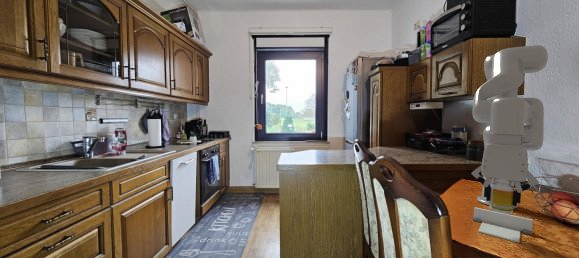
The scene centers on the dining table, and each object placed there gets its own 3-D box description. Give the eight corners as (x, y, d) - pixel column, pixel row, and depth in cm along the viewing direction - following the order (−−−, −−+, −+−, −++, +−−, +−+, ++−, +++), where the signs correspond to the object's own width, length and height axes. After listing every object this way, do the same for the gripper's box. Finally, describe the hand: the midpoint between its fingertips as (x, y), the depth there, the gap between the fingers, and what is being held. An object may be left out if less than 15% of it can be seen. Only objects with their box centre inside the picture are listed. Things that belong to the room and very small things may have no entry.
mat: (482, 223, 82) (482, 222, 82) (520, 232, 76) (520, 231, 76) (478, 232, 75) (478, 230, 75) (519, 242, 69) (519, 241, 69)
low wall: (474, 218, 86) (475, 206, 86) (531, 231, 76) (532, 218, 76) (472, 220, 84) (473, 208, 84) (531, 234, 74) (532, 221, 74)
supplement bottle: (517, 214, 72) (520, 180, 71) (495, 212, 73) (498, 178, 72) (505, 208, 77) (507, 176, 77) (485, 206, 78) (487, 174, 78)
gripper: (546, 142, 71) (541, 207, 72) (471, 138, 83) (468, 193, 83) (548, 144, 65) (543, 214, 66) (467, 138, 77) (463, 198, 78)
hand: (501, 202), depth 75 cm, fingers closed on supplement bottle, 5 cm apart
